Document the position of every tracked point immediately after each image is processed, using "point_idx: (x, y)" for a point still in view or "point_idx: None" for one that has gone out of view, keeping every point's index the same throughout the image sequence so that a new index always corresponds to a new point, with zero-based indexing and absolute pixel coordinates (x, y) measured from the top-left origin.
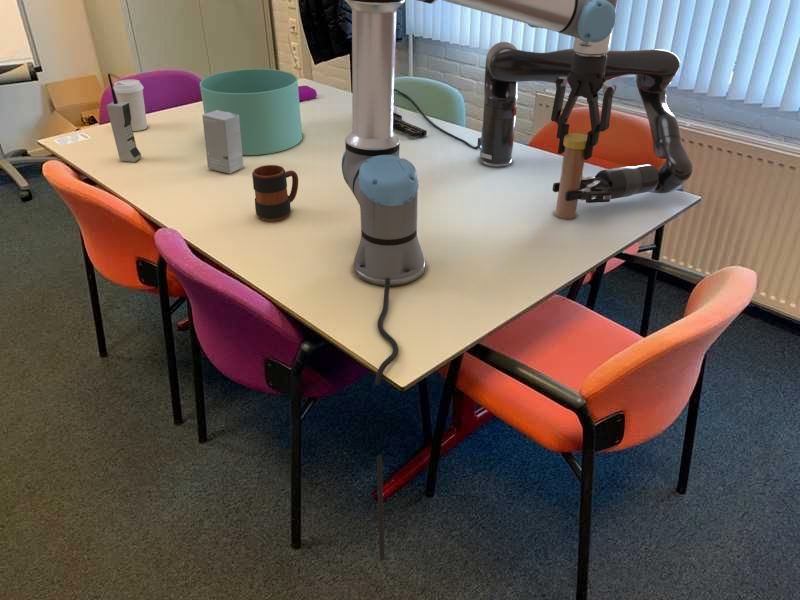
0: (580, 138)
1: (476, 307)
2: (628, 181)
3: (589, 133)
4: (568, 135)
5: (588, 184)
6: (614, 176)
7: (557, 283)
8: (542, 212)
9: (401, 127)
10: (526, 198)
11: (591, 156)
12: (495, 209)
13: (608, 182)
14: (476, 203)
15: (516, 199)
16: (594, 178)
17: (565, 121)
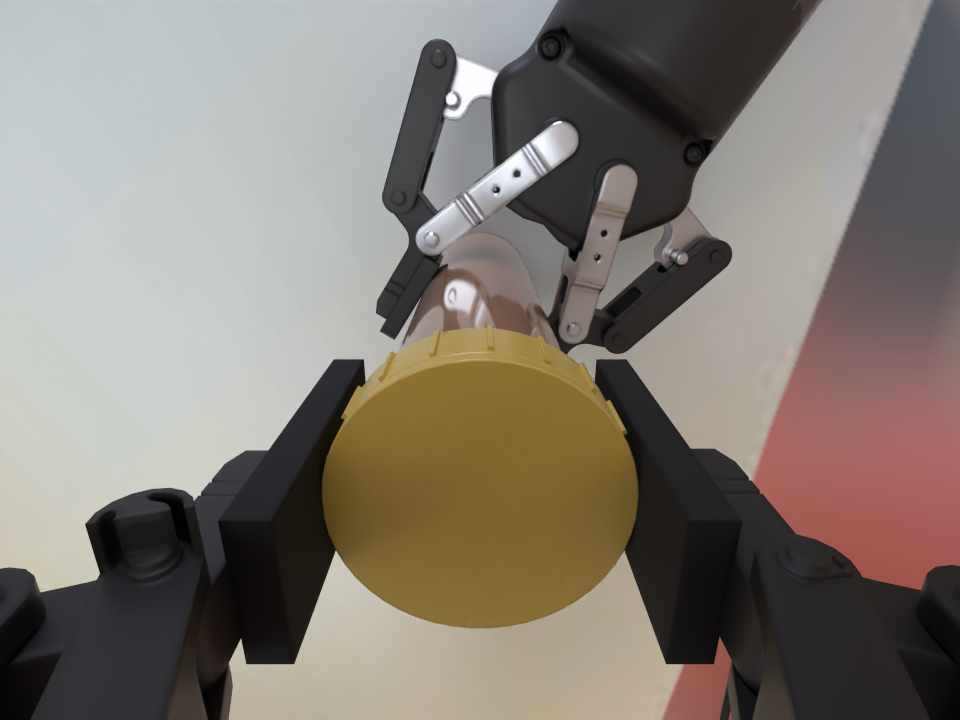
0: (530, 521)
1: None
2: (811, 15)
3: (686, 653)
4: (362, 508)
5: (564, 219)
6: (727, 91)
7: (661, 702)
8: (384, 320)
9: None
10: (234, 223)
11: (626, 360)
12: (212, 415)
13: (681, 130)
14: (112, 413)
15: (207, 266)
16: (577, 136)
17: (204, 608)
